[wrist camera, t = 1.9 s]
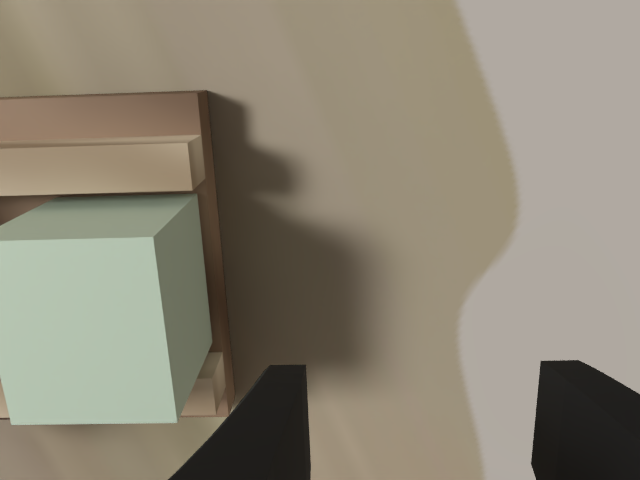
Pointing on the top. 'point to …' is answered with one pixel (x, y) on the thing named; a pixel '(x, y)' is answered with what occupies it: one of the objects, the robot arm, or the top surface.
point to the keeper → (103, 310)
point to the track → (123, 184)
